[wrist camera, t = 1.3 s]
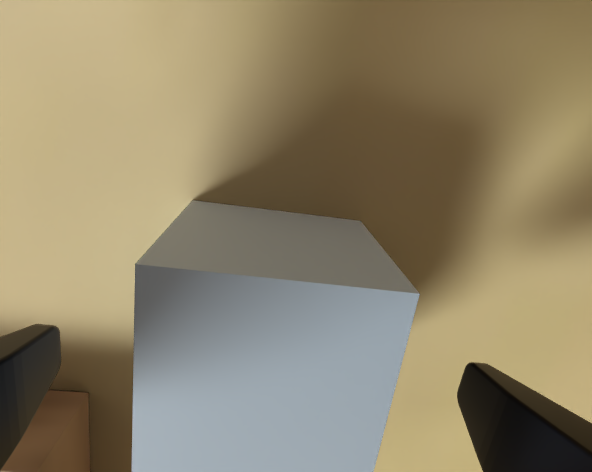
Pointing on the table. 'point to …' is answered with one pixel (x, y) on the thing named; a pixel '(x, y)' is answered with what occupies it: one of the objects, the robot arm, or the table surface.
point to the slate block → (265, 343)
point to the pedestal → (55, 436)
